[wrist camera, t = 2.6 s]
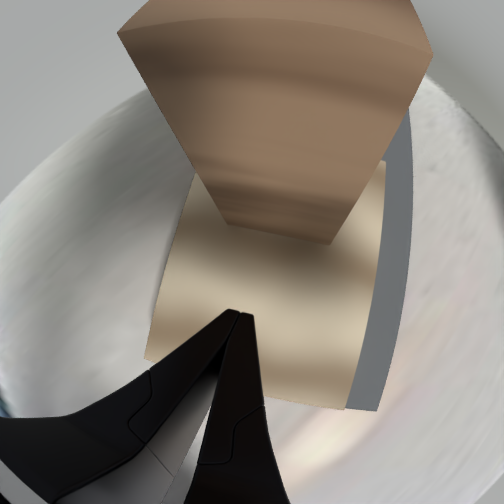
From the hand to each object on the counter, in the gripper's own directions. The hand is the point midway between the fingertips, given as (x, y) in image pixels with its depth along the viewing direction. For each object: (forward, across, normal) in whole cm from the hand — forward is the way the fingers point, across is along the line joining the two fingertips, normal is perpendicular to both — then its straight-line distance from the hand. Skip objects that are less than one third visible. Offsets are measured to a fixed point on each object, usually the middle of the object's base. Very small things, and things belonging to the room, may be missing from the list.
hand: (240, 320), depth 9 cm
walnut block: (+10, 0, -1) cm, 11 cm away
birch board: (+9, 0, +4) cm, 9 cm away
